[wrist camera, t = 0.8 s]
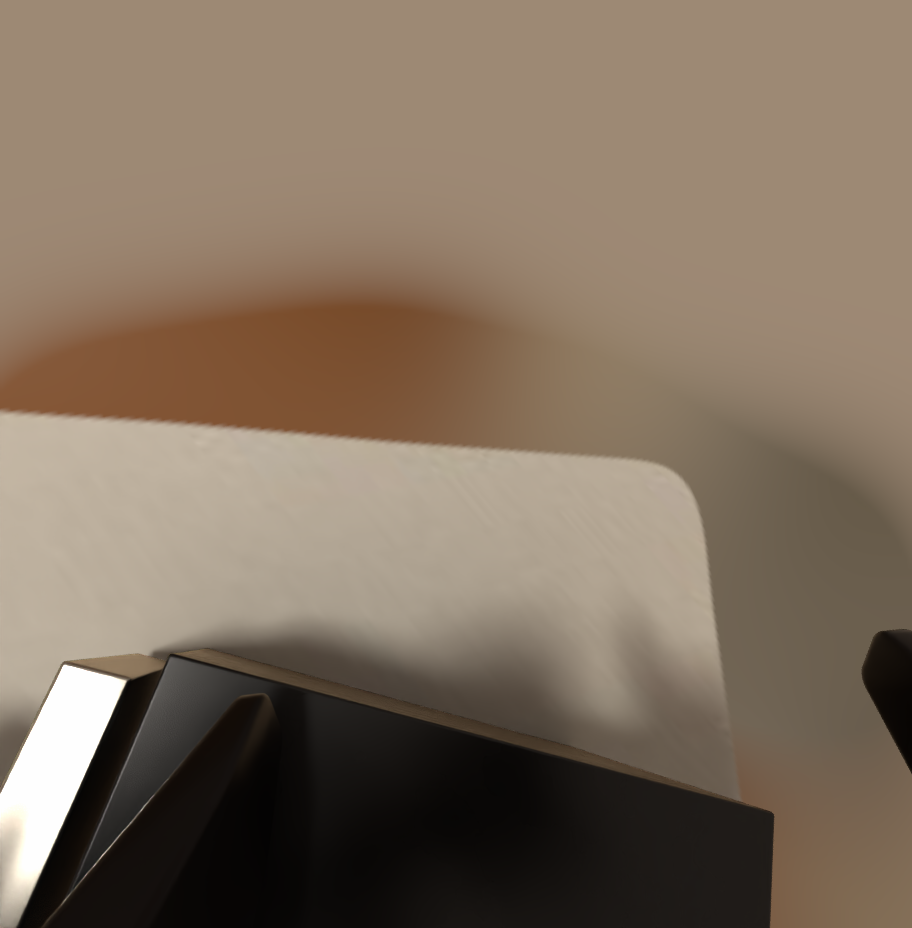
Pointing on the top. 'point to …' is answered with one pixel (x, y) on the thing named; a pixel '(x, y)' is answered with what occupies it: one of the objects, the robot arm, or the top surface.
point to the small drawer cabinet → (450, 816)
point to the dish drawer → (66, 779)
